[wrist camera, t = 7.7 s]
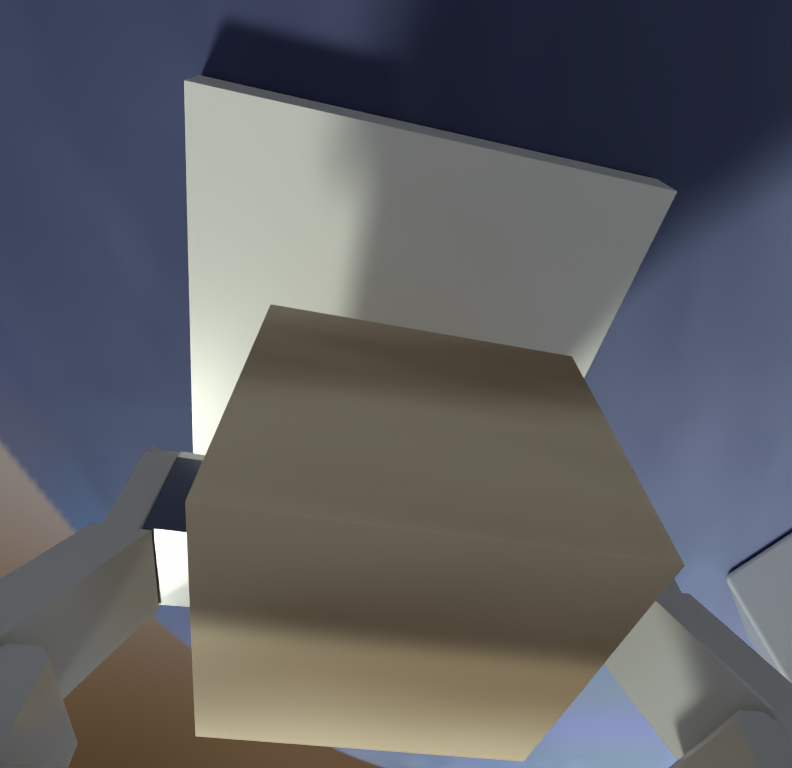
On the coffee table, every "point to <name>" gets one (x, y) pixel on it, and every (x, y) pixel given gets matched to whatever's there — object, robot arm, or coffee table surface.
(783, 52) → the coffee table surface
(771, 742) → the robot arm
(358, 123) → the base plate
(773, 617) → the jar
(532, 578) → the maple block
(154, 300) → the coffee table surface
